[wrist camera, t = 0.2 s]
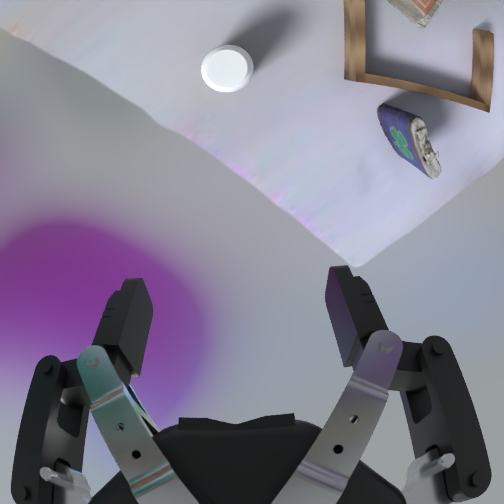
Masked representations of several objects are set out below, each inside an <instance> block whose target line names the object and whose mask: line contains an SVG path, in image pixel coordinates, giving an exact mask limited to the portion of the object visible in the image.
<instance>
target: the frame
mask: <svg viewBox="0 0 504 504" xmlns="http://www.w3.org/2000/svg"><path fill="white" fill-rule="evenodd" d="M344 24H345V74H344V79H346V80H351V81H356V82H364V83H371V84H377V85H384V86H390V87H395V88H401V89H406V90H410V91H415V92H420V93H424V94H428V95H432V96H436V97H440V98H444V99H448V100H451V101H455V102H458V103H461V104H465V105H468V106H471V107H474V108H477V109H480V110H483V111H486V112H488V113H489V112H490V104H491V94H492V82H493V63H494V36H493V33H491V32H490V31H484V30H473V66H472V83H471V95H470V98H467V97H464V96H461V95H458V94H454V93H451V92H448V91H444V90H441V89H437V88H434V87H430V86H426V85H422V84H418V83H413V82H409V81H404V80H400V79H395V78H389V77H384V76H378V75H372V74H365V54H366V32H365V0H344Z"/></svg>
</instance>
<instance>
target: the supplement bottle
mask: <svg viewBox="0 0 504 504" xmlns="http://www.w3.org/2000/svg"><path fill="white" fill-rule="evenodd" d="M253 71H254V65H253V61H252V58H251V57H250V55H249V54H248V53H247V52H246V51H245V50H244V49H242V48H240V47H238V46H235V45H222V46H219V47H216V48H214V49H212V50H211V51H210V52H209V53H208V54H207V55H206V56H205V58H204V60H203V62H202V66H201V73H202V77H203V79H204V81H205V82H206V84H207V85H208V86H210V87H211V88H212V89H214V90H217V91H220V92H233V91H237V90H239V89H241V88H243V87H244V86H245V85H246V84H247V83H248V82H249V81H250V79H251V78H252V75H253Z"/></svg>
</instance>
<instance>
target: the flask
mask: <svg viewBox="0 0 504 504" xmlns="http://www.w3.org/2000/svg"><path fill="white" fill-rule="evenodd" d="M377 114H378V119H379V121H380V125H381V126H382V129H383V131H384V133H385V135H386V136H387V138H388V140H389V141H390V143H391V145H392V146H393V148H394V150H395V151H396V152H397V153H398V155H400V156H401V157H402V158H404V159H405V160H407V161H408V162H410V163H411V164H413V165H414V166H415V167H417V168H418V169H419V170H421V171H422V172H423V173H424V174H426V175H427V176H428V177H430V178H431V179H434V178H437V177H438V176H439V175H440V172H441V167H440V164H439V162H438V160H437V159H436V158H438V157H439V155H438V154H439V152H438V151H437V153H436V154H435V153H434V151H433V149H432V146H431V143H430V141H429V137H428V132H427V126H426V123H425V121H424V120H423V119H422V118H421V117H419V116H417V115H414V114H411V113H409V112H406V111H403V110H401V109H398V108H394V107H391V106H389V105H387V104H384V103H383V104H382V105H380V106H379V107H378V108H377Z"/></svg>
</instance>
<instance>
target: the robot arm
mask: <svg viewBox="0 0 504 504" xmlns="http://www.w3.org/2000/svg"><path fill="white" fill-rule="evenodd" d="M325 301H326V306H327V310H328V313H329V317H330V320H331V323H332V327H333V330H334V333H335V337H336V340H337V344H338V347H339V351H340V354H341V358H342V362H343V365H344V367H350V366H352V367H353V371H354V372H353V374H352V376H351V378H350V380H349V382H348V384H347V386H346V388H345V390H344V391H343V394H342V395H341V397H340V399H339V401H338V403H337V404H336V406H335V408H334V410H333V412H332V413H331V415H330V417H329V419H328V421H327V422H326V424H325V425H324V427H323V429H321V428H320V427H318V426H316V425H314V424H311V423H309V422H305V421H301V420H295V416H294V413H291V414H282V415H271V416H264V417H260V418H257V419H254V420H250V421H247V422H243V423H240V424H230V423H226V422H221V421H217V420H212V419H208V418H181V417H180V418H179V424H176V425H173V426H170V427H167V428H165V429H163V430H162V431H160V430H159V428H158V427H157V426H156V424H155V423H154V422H153V420H152V419H151V418H150V416H149V415H148V413H147V412H146V410H145V409H144V407H143V405H142V404H141V402H140V400H139V398H138V397H137V395H136V393H135V392H134V390H133V388H132V386H131V385H130V379H131V377H140V373H141V368H142V363H143V358H144V353H145V348H146V343H147V338H148V334H149V330H150V325H151V321H152V317H153V305H152V301H151V299H150V296H149V294H148V291H147V288H146V286H145V283H144V281H143V279H142V278H131V279H125V280H124V282H123V285H122V287H121V290H120V291H115V292H114V293H113V295H112V296H111V297H110V298H109V299H108V302H107V304H106V307H105V310H104V312H103V315H102V318H101V320H100V324H99V326H98V329H97V331H96V334H95V338H94V340H93V343H92V345H91V346H89V347H87V348H85V349H84V350H83V351H82V352H81V353H80V354H79V356H78V358H77V359H73V360H69V361H65V362H61V361H60V360H59V359H58V358H57V357H55V356H52V355H49V356H46V357H44V358H42V359H41V360H40V361H39V362H38V364H37V366H36V368H35V372H34V375H33V378H32V381H31V385H30V388H29V392H28V396H27V399H26V403H25V407H24V411H23V415H22V420H21V424H20V429H19V434H18V439H17V444H16V451H15V456H14V464H13V471H12V481H11V494H12V497H13V499H14V501H15V502H16V504H455V503H459V502H463V501H466V500H469V499H472V498H476V497H478V496H480V495H481V494H483V493H484V492H485V491H486V490H487V488H488V486H489V484H490V481H491V468H490V463H489V459H488V455H487V450H486V447H485V443H484V439H483V435H482V432H481V428H480V425H479V422H478V418H477V415H476V412H475V409H474V406H473V403H472V400H471V397H470V394H469V391H468V389H467V386H466V383H465V380H464V378H463V375H462V372H461V370H460V368H459V365H458V363H457V360H456V358H455V355H454V353H453V351H452V348H451V346H450V344H449V343H448V342H447V341H446V340H445V339H444V338H442V337H440V336H430V337H427V338H426V339H425V340H424V341H423V343H412V342H405V341H401V339H400V337H399V336H398V335H397V334H395V333H393V332H391V331H389V329H388V327H387V325H386V323H385V320H384V318H383V316H382V314H381V312H380V309H379V307H378V305H377V302H375V301H376V300H375V298H374V296H373V295H372V292H371V290H370V287H369V285H368V284H367V283H366V282H365V281H364V280H363V279H362V278H361V277H360V276H356V277H353V275H352V273H351V271H350V268H349V267H348V266H347V265H344V266H333V267H330V269H329V273H328V280H327V285H326V291H325ZM388 390H394V391H400V395H401V398H402V402H403V406H404V410H405V414H406V418H407V423H408V427H409V431H410V436H411V440H412V445H413V450H414V454H415V460H414V461H413V462H412V463H411V464H410V465H409V467H408V470H407V480H406V485H405V487H404V488H403V490H402V491H400V490H399V489H398V488H396V487H395V486H394V485H392V484H391V483H389V482H388V481H387V480H386V479H384V478H383V477H382V476H380V475H379V474H378V473H376V472H375V471H374V470H372V469H371V468H370V467H368V466H367V465H366V464H365V463H363V462H362V461H361V460H360V458H361V456H362V454H363V452H364V450H365V448H366V446H367V444H368V442H369V440H370V438H371V436H372V434H373V432H374V430H375V427H376V425H377V423H378V421H379V418H380V416H381V414H382V411H383V409H384V407H385V404H386V402H387V399H388V395H389V394H388ZM60 401H61V402H60ZM59 405H60V406H59ZM90 405H92V406H90ZM58 410H59V411H58ZM89 410H91V413H92V416H93V417H94V420H95V422H96V424H97V426H98V428H99V430H100V432H101V434H102V437H103V439H104V440H105V442H106V444H107V446H108V448H109V450H110V452H111V454H112V456H113V457H114V459H115V461H116V463H117V465H118V466H119V468H120V471H119V472H118V473H117V474H116V475H115V476H114V477H113V478H112V479H111V480H110V481H109V482H108V483H107V484H106V485H105V486H104V487H103V488H102V489H101V490H100V491H99V492H97V493H96V494H95V495H94V496H93V497H91V495H90V486H89V485H88V482H87V479H86V478H85V476H84V475H83V474H82V464H83V454H84V445H85V437H86V429H87V423H88V416H89ZM57 415H58V416H57Z"/></svg>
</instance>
